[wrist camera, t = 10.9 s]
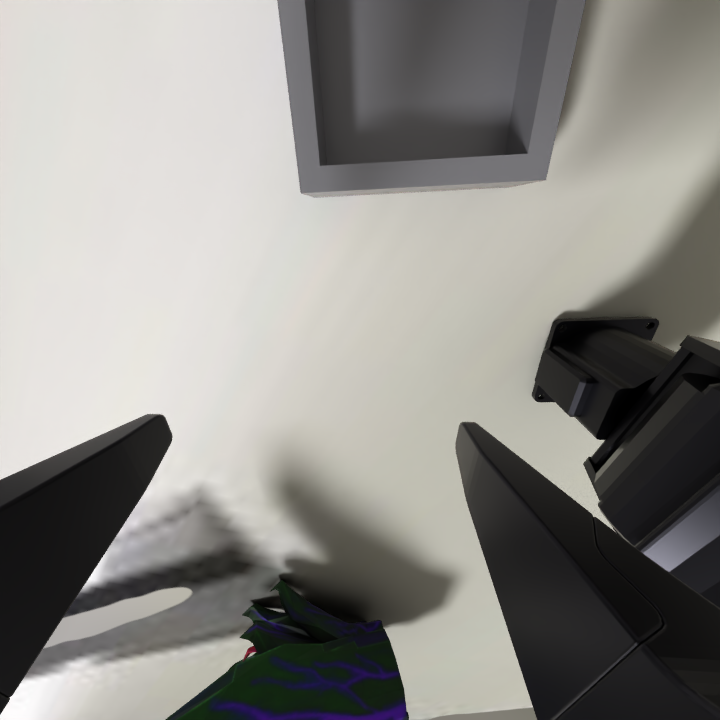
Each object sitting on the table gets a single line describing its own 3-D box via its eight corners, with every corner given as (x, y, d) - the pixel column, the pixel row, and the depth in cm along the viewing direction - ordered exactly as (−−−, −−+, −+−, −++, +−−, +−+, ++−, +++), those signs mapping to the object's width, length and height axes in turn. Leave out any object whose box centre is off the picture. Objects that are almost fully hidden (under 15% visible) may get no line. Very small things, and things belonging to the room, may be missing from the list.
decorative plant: (355, 566, 51) (165, 593, 42) (424, 562, 31) (93, 611, 22) (370, 748, 39) (107, 844, 30) (494, 926, 19) (-160, 1368, 10)
